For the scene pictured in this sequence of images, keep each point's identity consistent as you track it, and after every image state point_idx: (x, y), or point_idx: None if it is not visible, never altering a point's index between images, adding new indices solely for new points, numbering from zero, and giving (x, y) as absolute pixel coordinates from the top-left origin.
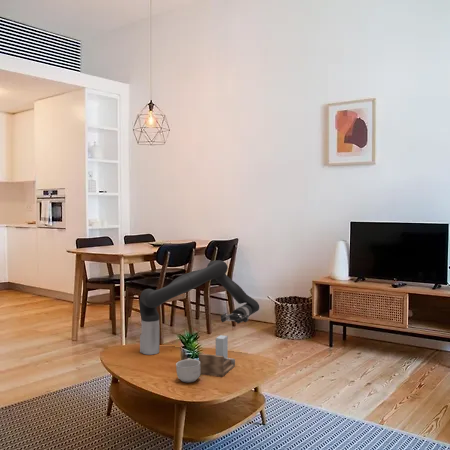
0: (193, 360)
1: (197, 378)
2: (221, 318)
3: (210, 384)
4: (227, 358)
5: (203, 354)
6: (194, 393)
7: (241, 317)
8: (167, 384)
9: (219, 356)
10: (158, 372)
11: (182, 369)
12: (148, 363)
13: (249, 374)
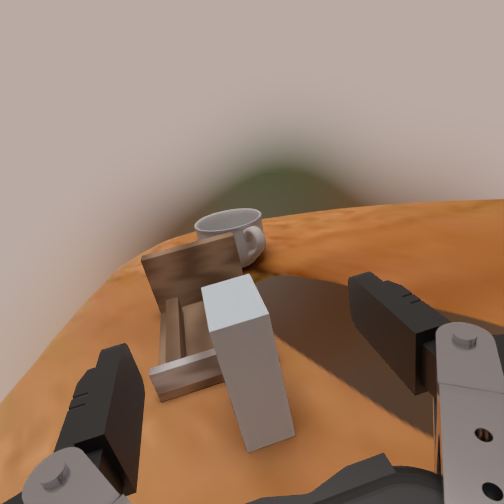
0: (231, 230)
1: None
2: (394, 284)
3: None
4: (187, 358)
5: (215, 237)
6: None
7: (52, 462)
8: None
9: (155, 253)
10: (342, 241)
11: (225, 216)
12: (442, 244)
13: (75, 375)
